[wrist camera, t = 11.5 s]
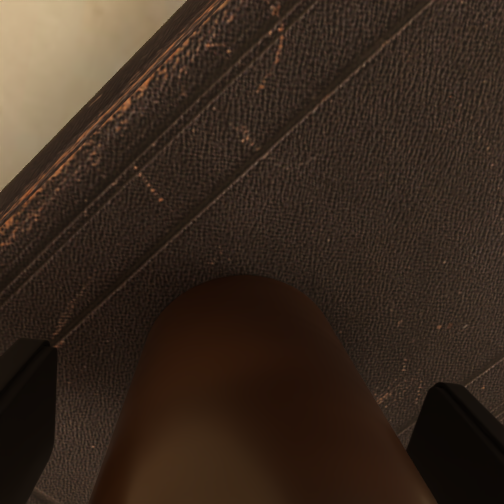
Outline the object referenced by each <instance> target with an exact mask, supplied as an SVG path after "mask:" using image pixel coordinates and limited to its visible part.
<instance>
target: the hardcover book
mask: <svg viewBox="0 0 504 504" xmlns="http://www.w3.org/2000/svg"><path fill="white" fill-rule="evenodd" d="M234 275H253V276H262V277H267V278H272V279H275V280H278V281H281V282H284V283H286V284H288V285H290V286H292V287H294V288H296V289H298V290H299V291H301V292H302V293H304V294H305V295H307V296H308V297H309V298H310V299H311V300H312V301H313V302H314V303H315V304H316V305H317V306H318V307H319V309H320V310H321V311H322V312H323V314H324V315H325V317H326V319H327V320H328V322H329V324H330V325H331V327H332V329H333V330H334V332H335V334H336V335H337V337H338V339H339V340H340V342H341V344H342V345H343V347H344V349H345V350H346V352H347V354H348V355H349V357H350V359H351V360H352V362H353V364H354V365H355V367H356V368H357V370H358V372H359V373H360V375H361V377H362V378H363V380H364V382H365V383H366V385H367V387H368V388H369V390H370V392H371V393H372V395H373V397H374V398H375V400H376V402H377V403H378V405H379V407H380V408H381V410H382V412H383V413H384V415H385V417H386V418H387V420H388V422H389V423H390V425H391V427H392V428H393V430H394V432H395V433H396V435H397V437H398V438H399V440H400V442H401V443H402V445H403V447H404V448H405V450H406V449H407V446H408V443H409V441H410V438H411V435H412V433H413V430H414V427H415V424H416V422H417V419H418V416H419V413H420V411H421V408H422V405H423V403H424V400H425V397H426V394H427V392H428V390H429V389H430V388H431V387H433V386H434V385H435V384H436V383H437V382H446V383H455V384H461V385H463V386H464V387H465V388H466V389H467V390H468V391H469V392H470V393H471V394H472V395H473V396H474V397H475V398H476V399H477V400H478V401H479V402H480V403H481V404H482V405H483V406H484V407H485V408H486V409H487V410H488V411H489V412H490V413H491V414H492V415H493V416H494V417H495V418H496V419H497V420H498V421H499V422H500V423H501V424H502V425H503V426H504V0H187V1H186V2H185V3H184V4H183V5H182V6H181V7H180V8H179V9H178V10H177V11H176V12H175V13H174V14H173V15H172V16H171V18H170V19H169V20H168V21H167V22H166V23H165V24H164V25H163V26H162V27H161V28H160V29H159V30H158V31H157V32H156V33H155V34H154V35H153V36H152V37H151V38H150V39H149V40H148V41H147V42H146V43H145V44H144V45H143V46H142V47H141V48H140V49H139V50H138V51H137V52H136V53H135V54H134V55H133V57H132V58H131V59H130V60H129V61H128V62H127V63H126V64H125V65H124V66H123V67H122V68H121V69H120V70H119V71H118V72H117V73H116V74H115V75H114V76H113V77H112V78H111V79H110V80H109V81H108V82H107V83H106V84H105V85H104V86H103V87H102V88H101V89H100V90H99V91H98V92H97V93H96V94H95V96H94V97H93V98H92V99H91V100H90V101H89V102H88V103H87V104H86V105H85V106H84V107H83V108H82V109H81V110H80V111H79V112H78V113H77V114H76V115H75V116H74V117H73V118H72V119H71V120H70V121H69V122H68V123H67V124H66V125H65V126H64V127H63V128H62V129H61V130H60V131H59V132H58V133H57V135H56V136H55V137H54V138H53V139H52V140H51V141H50V142H49V143H48V144H47V145H46V146H45V147H44V148H43V149H42V150H41V151H40V152H39V153H38V154H37V155H36V156H35V157H34V158H33V159H32V160H31V161H30V162H29V163H28V164H27V165H26V166H25V167H24V168H23V169H22V170H21V171H20V172H19V174H18V175H17V176H16V177H15V178H14V179H13V180H12V181H11V182H10V183H9V184H8V185H7V186H6V187H5V188H4V189H3V190H2V191H1V192H0V356H1V355H2V354H3V353H4V352H5V351H6V350H7V349H8V348H9V347H10V346H11V345H12V344H13V343H14V342H15V341H16V340H18V339H19V338H22V337H24V338H34V339H43V340H48V341H49V342H50V347H56V348H57V351H58V359H57V387H56V414H55V441H54V447H53V451H52V454H51V457H50V459H49V461H48V463H47V465H46V467H45V469H44V471H43V472H42V474H41V476H40V478H39V480H38V482H37V484H36V486H35V487H34V489H33V491H32V493H31V495H30V497H29V499H28V501H27V503H26V504H88V502H89V499H90V496H91V493H92V490H93V488H94V485H95V482H96V479H97V476H98V474H99V471H100V468H101V465H102V462H103V460H104V457H105V454H106V451H107V448H108V446H109V443H110V440H111V437H112V434H113V432H114V429H115V426H116V423H117V420H118V418H119V415H120V412H121V409H122V406H123V404H124V401H125V398H126V395H127V392H128V390H129V387H130V384H131V381H132V378H133V376H134V373H135V370H136V367H137V364H138V362H139V359H140V356H141V353H142V350H143V348H144V345H145V342H146V339H147V336H148V334H149V331H150V330H151V328H152V326H153V324H154V322H155V321H156V319H157V318H158V317H159V315H160V314H161V312H162V311H163V310H164V309H165V308H166V307H167V306H168V305H169V304H170V303H171V302H172V301H173V300H175V299H176V298H177V297H178V296H180V295H181V294H183V293H184V292H186V291H188V290H189V289H191V288H193V287H195V286H197V285H199V284H202V283H204V282H207V281H210V280H213V279H217V278H221V277H227V276H234Z"/></svg>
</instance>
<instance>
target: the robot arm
mask: <svg viewBox="0 0 504 504" xmlns="http://www.w3.org/2000/svg"><path fill="white" fill-rule="evenodd" d="M57 359H58V351H57V348H56V347H50V342H49V341H48V340H43V339H34V338H24V337H22V338H19V339H18V340H16V341H15V342H14V343H13V344H12V345H11V346H10V347H9V348H8V349H7V350H6V351H5V352H4V353H3V354H2V355H1V356H0V504H26V503H27V501H28V499H29V497H30V495H31V493H32V491H33V489H34V487H35V486H36V484H37V482H38V480H39V478H40V476H41V474H42V472H43V471H44V469H45V467H46V465H47V463H48V461H49V459H50V457H51V454H52V451H53V447H54V441H55V414H56V387H57ZM406 452H407V453H408V455H409V456H410V458H411V460H412V461H413V463H414V465H415V466H416V468H417V470H418V471H419V473H420V475H421V476H422V478H423V480H424V481H425V483H426V485H427V486H428V488H429V490H430V491H431V493H432V495H433V496H434V498H435V500H436V501H437V503H438V504H504V426H503V425H502V424H501V423H500V422H499V421H498V420H497V419H496V418H495V417H494V416H493V415H492V414H491V413H490V412H489V411H488V410H487V409H486V408H485V407H484V406H483V405H482V404H481V403H480V402H479V401H478V400H477V399H476V398H475V397H474V396H473V395H472V394H471V393H470V392H469V391H468V390H467V389H466V388H465V387H464V386H463V385H461V384H455V383H446V382H437V383H436V384H435V385H434V386H433V387H431V388H430V389H429V390H428V392H427V394H426V397H425V400H424V403H423V405H422V408H421V411H420V413H419V416H418V419H417V422H416V424H415V427H414V430H413V433H412V435H411V438H410V441H409V443H408V446H407V449H406Z"/></svg>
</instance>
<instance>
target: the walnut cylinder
mask: <svg viewBox="0 0 504 504" xmlns="http://www.w3.org/2000/svg"><path fill="white" fill-rule="evenodd" d="M88 504H438V503H437V501H436V500H435V498H434V496H433V495H432V493H431V491H430V490H429V488H428V486H427V485H426V483H425V481H424V480H423V478H422V476H421V475H420V473H419V471H418V470H417V468H416V466H415V465H414V463H413V461H412V460H411V458H410V456H409V455H408V453H407V452H406V450H405V448H404V447H403V445H402V443H401V442H400V440H399V438H398V437H397V435H396V433H395V432H394V430H393V428H392V427H391V425H390V423H389V422H388V420H387V418H386V417H385V415H384V413H383V412H382V410H381V408H380V407H379V405H378V403H377V402H376V400H375V398H374V397H373V395H372V393H371V392H370V390H369V388H368V387H367V385H366V383H365V382H364V380H363V378H362V377H361V375H360V373H359V372H358V370H357V368H356V367H355V365H354V364H353V362H352V360H351V359H350V357H349V355H348V354H347V352H346V350H345V349H344V347H343V345H342V344H341V342H340V340H339V339H338V337H337V335H336V334H335V332H334V330H333V329H332V327H331V325H330V324H329V322H328V320H327V319H326V317H325V315H324V314H323V312H322V311H321V310H320V309H319V307H318V306H317V305H316V304H315V303H314V302H313V301H312V300H311V299H310V298H309V297H308V296H307V295H305V294H304V293H302V292H301V291H299V290H298V289H296V288H294V287H292V286H290V285H288V284H286V283H284V282H281V281H278V280H275V279H272V278H267V277H262V276H253V275H234V276H227V277H221V278H217V279H213V280H210V281H207V282H204V283H202V284H199V285H197V286H195V287H193V288H191V289H189V290H188V291H186V292H184V293H183V294H181V295H180V296H178V297H177V298H176V299H175V300H173V301H172V302H171V303H170V304H169V305H168V306H167V307H166V308H165V309H164V310H163V311H162V312H161V314H160V315H159V317H158V318H157V319H156V321H155V322H154V324H153V326H152V328H151V330H150V331H149V334H148V336H147V339H146V342H145V345H144V348H143V350H142V353H141V356H140V359H139V362H138V364H137V367H136V370H135V373H134V376H133V378H132V381H131V384H130V387H129V390H128V392H127V395H126V398H125V401H124V404H123V406H122V409H121V412H120V415H119V418H118V420H117V423H116V426H115V429H114V432H113V434H112V437H111V440H110V443H109V446H108V448H107V451H106V454H105V457H104V460H103V462H102V465H101V468H100V471H99V474H98V476H97V479H96V482H95V485H94V488H93V490H92V493H91V496H90V499H89V502H88Z"/></svg>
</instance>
